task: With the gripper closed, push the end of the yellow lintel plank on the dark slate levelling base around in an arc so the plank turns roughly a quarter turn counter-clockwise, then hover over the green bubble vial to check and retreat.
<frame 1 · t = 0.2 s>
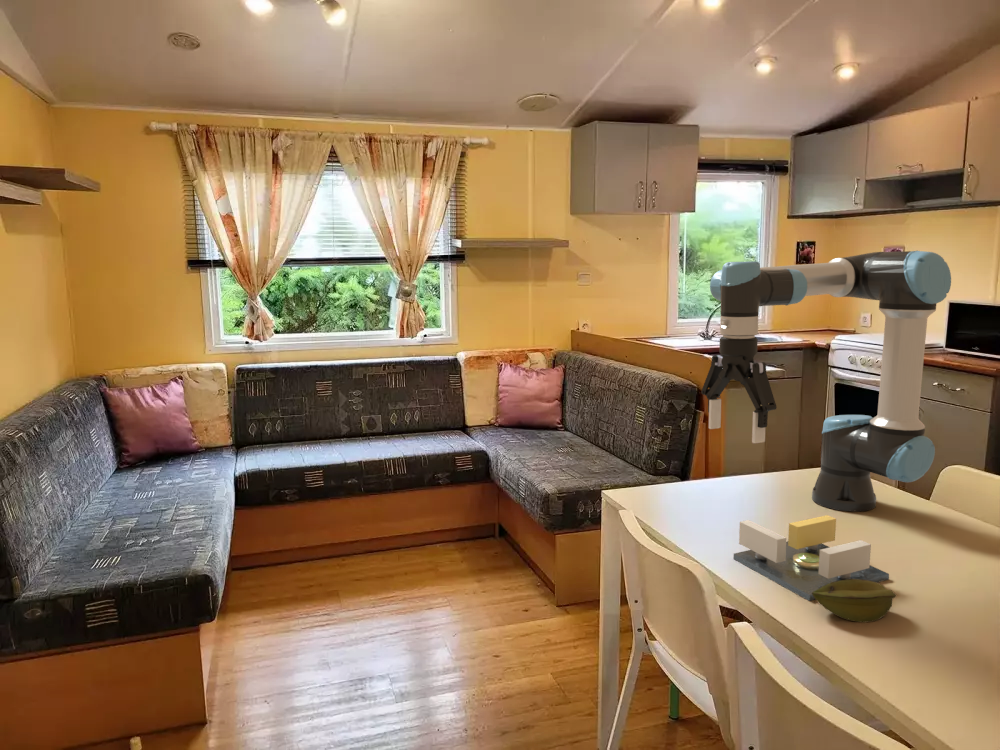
hand: (735, 435, 151), 27 cm above the table, fingers open, 13 cm apart
yellow lintel plank: (812, 534, 153), point 5 cm above the table, hinge at 0.0°
levelling base: (808, 568, 147), on the table
white crossbar plank: (761, 543, 149), point 5 cm above the table, hinge at 0.0°
white brick piece: (844, 561, 140), point 5 cm above the table, hinge at 0.0°
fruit: (853, 614, 129), on the table
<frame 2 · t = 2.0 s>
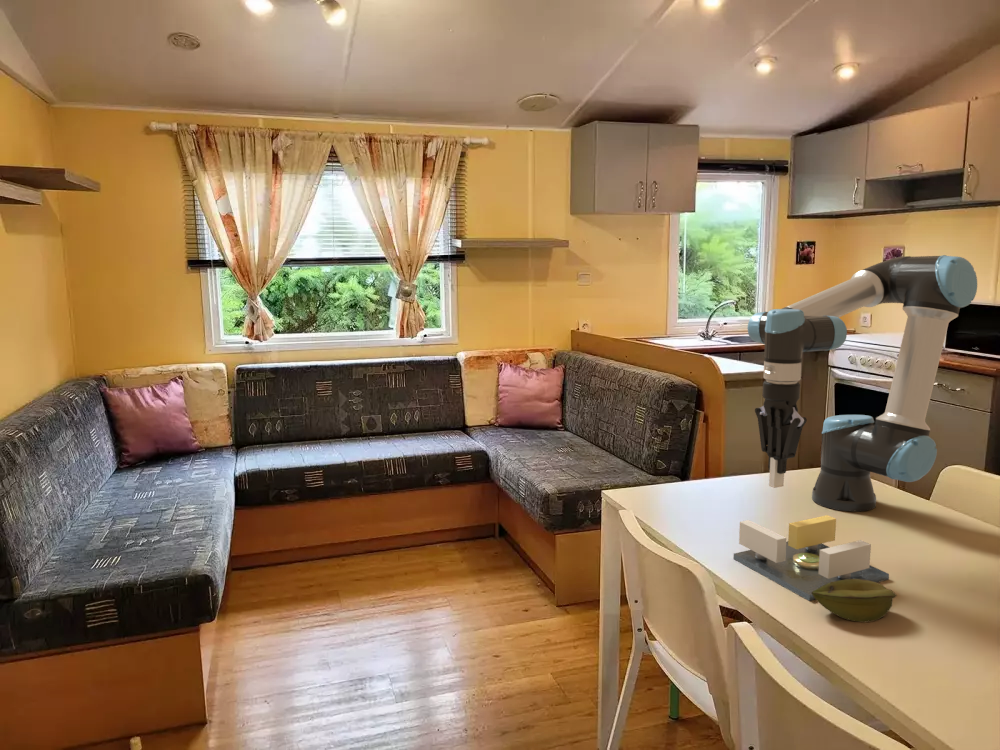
hand: (776, 486, 156), 14 cm above the table, fingers closed
nothing on the table moved.
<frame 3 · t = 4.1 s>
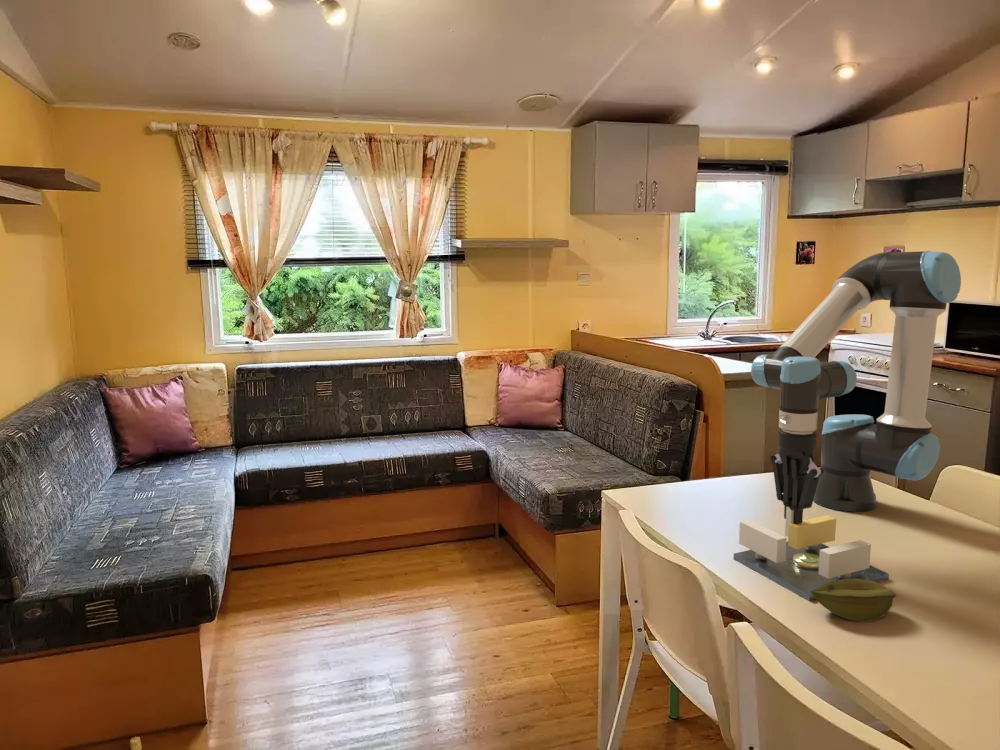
hand: (792, 535, 154), 4 cm above the table, fingers closed
yellow lintel plank: (812, 534, 153), point 5 cm above the table, hinge at 0.0°, touching gripper
everything else where it was.
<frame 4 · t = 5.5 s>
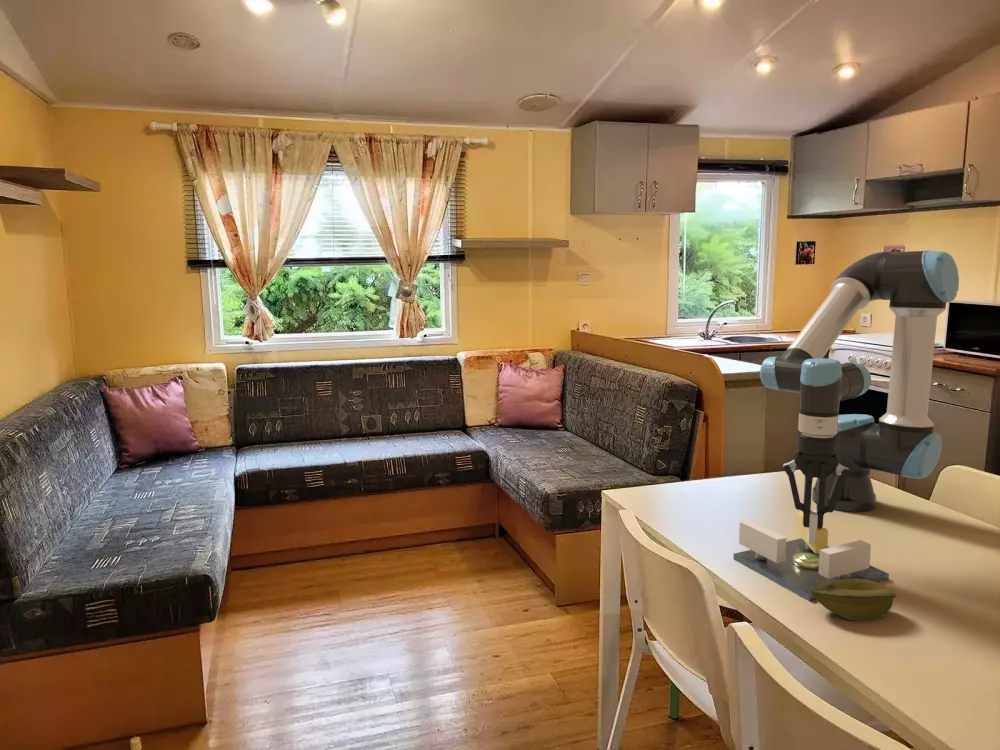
hand: (811, 541, 150), 5 cm above the table, fingers closed
yellow lintel plank: (812, 534, 153), point 5 cm above the table, hinge at 63.3°, touching gripper
everything else where it was.
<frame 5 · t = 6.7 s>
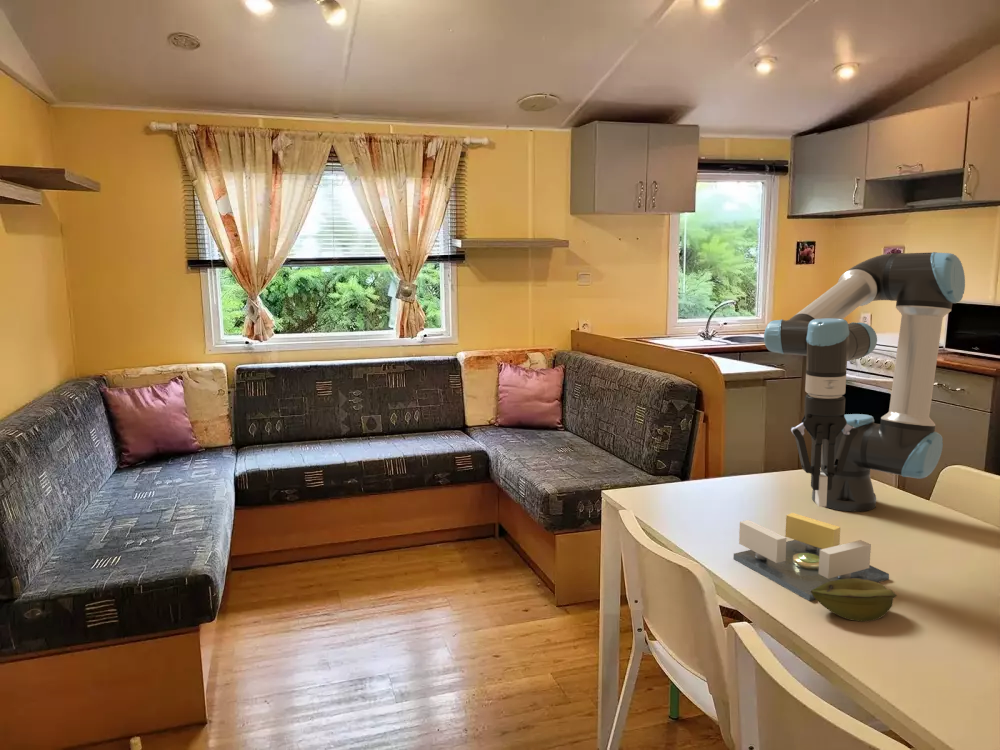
hand: (820, 504, 149), 13 cm above the table, fingers closed
yellow lintel plank: (812, 534, 153), point 5 cm above the table, hinge at 103.5°
everything else where it was.
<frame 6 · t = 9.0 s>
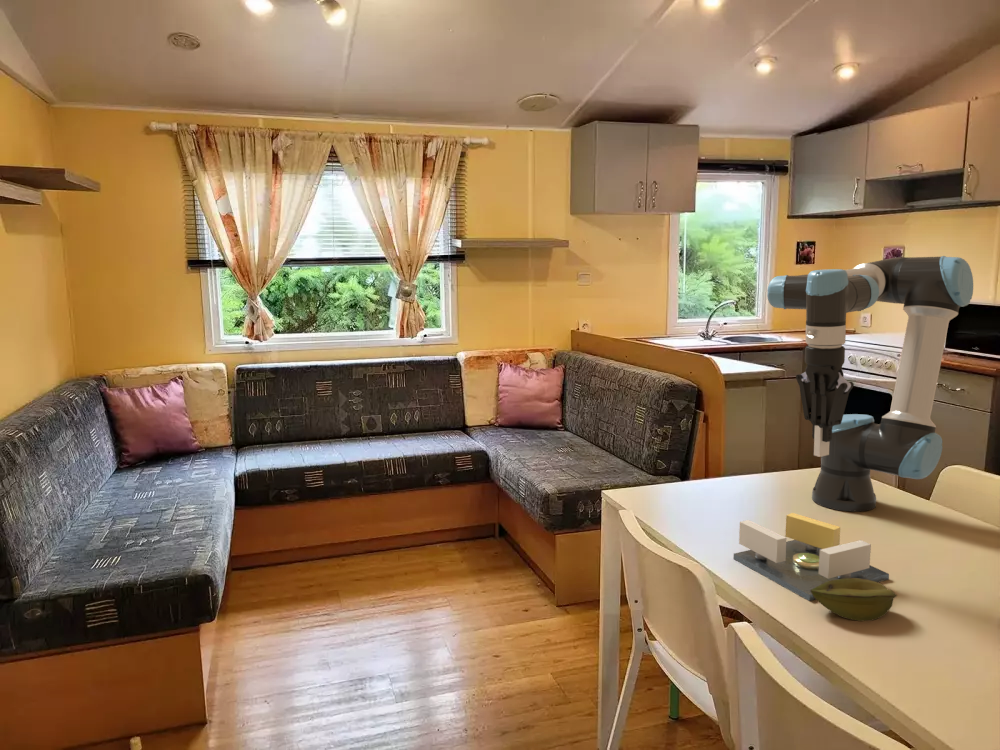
hand: (821, 454, 150), 23 cm above the table, fingers closed
nothing on the table moved.
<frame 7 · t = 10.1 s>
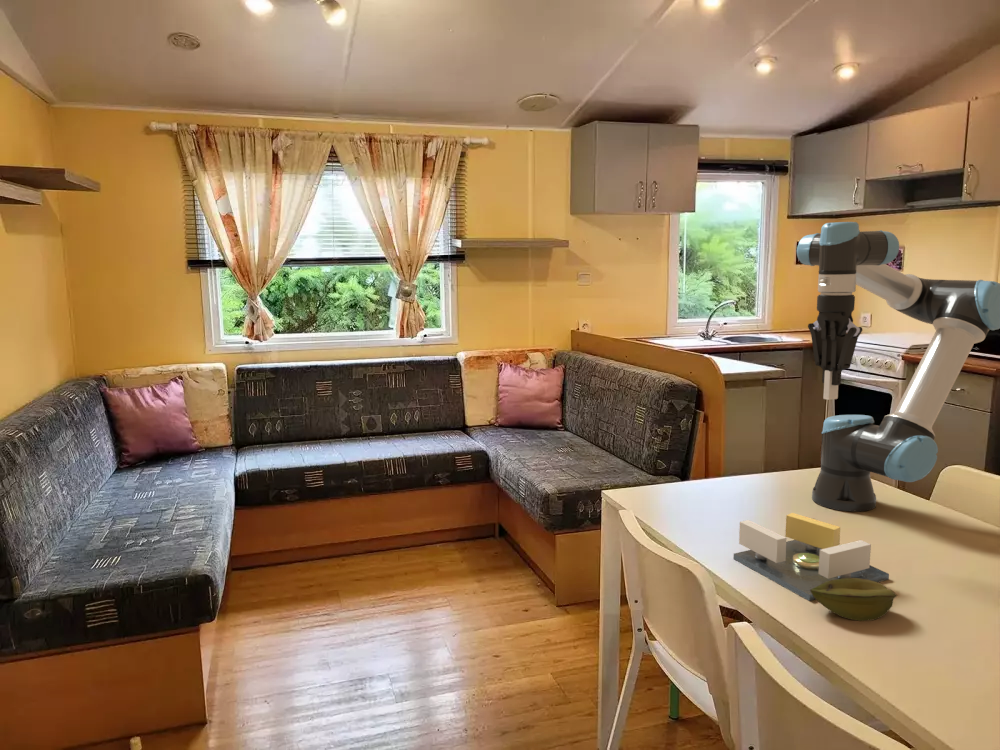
hand: (830, 398, 159), 32 cm above the table, fingers closed
nothing on the table moved.
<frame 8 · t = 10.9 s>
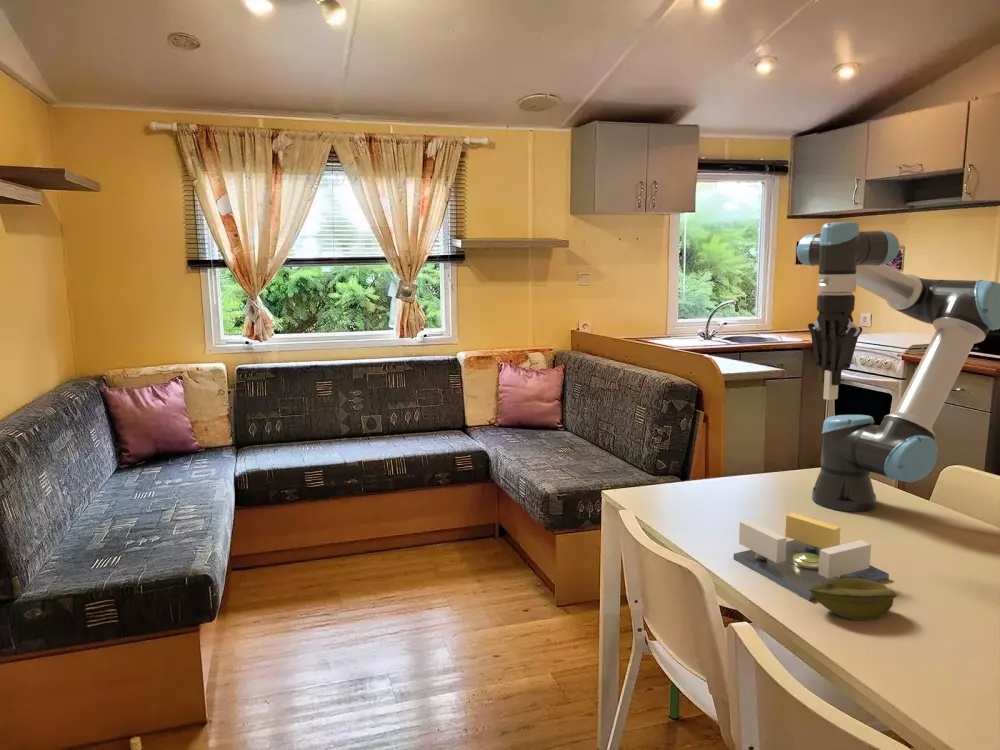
hand: (830, 398, 159), 32 cm above the table, fingers closed
nothing on the table moved.
at the end: yellow lintel plank at +104° (first picture: +0°); the gripper is holding nothing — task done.
